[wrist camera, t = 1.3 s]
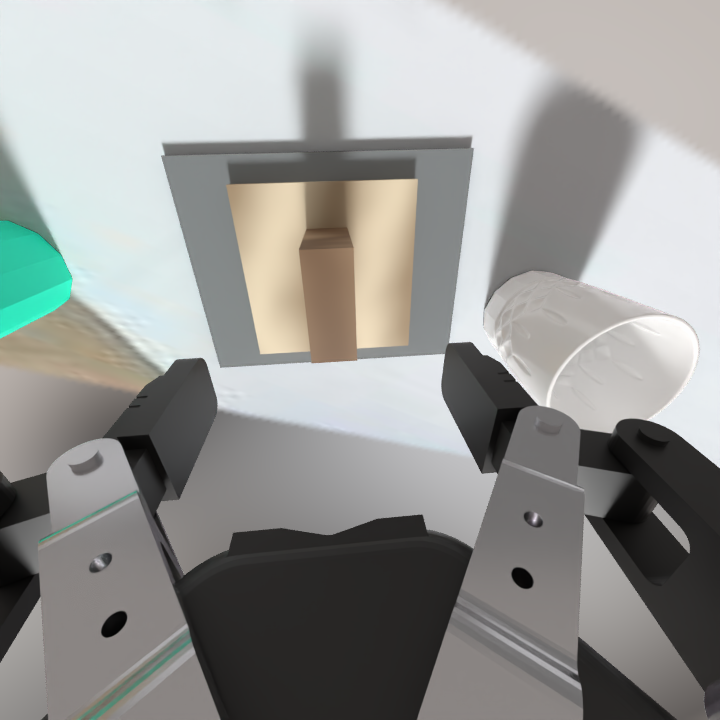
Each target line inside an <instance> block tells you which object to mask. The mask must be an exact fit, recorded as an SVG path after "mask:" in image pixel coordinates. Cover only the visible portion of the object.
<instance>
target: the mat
mask: <svg viewBox="0 0 720 720" xmlns="http://www.w3.org/2000/svg"><path fill="white" fill-rule="evenodd" d="M473 150H474V148H458V149H416V150H374V151H333V152H291V153H249V154H208V155H166V156H161V157H162V160H163V164H164V168H165V171H166V175H167V178H168V182H169V185H170V189H171V193H172V196H173V200H174V203H175V207H176V211H177V214H178V218H179V221H180V225H181V228H182V232H183V236H184V239H185V243H186V246H187V250H188V253H189V257H190V261H191V264H192V268H193V271H194V275H195V279H196V282H197V286H198V289H199V293H200V296H201V300H202V304H203V307H204V311H205V314H206V318H207V321H208V325H209V329H210V332H211V336H212V339H213V343H214V347H215V350H216V354H217V357H218V361H219V364H220V368H222V367H238V366H255V365H271V364H287V363H303V362H311V353H310V351H308V352H291V353H274V354H260V350H259V345H258V340H257V335H256V330H255V325H254V320H253V315H252V310H251V305H250V301H249V296H248V291H247V286H246V281H245V276H244V271H243V266H242V261H241V256H240V251H239V246H238V241H237V236H236V231H235V226H234V221H233V217H232V212H231V207H230V202H229V197H228V192H227V187H226V185H227V184H247V183H282V182H316V181H350V180H384V179H418V187H417V204H416V221H415V239H414V256H413V273H412V291H411V308H410V325H409V343H408V346H391V347H374V348H358V349H357V359H368V358H384V357H400V356H416V355H433V354H445V351H446V347H447V345H448V344H449V338H450V330H451V322H452V314H453V307H454V299H455V291H456V283H457V275H458V267H459V259H460V252H461V244H462V236H463V228H464V220H465V212H466V205H467V197H468V189H469V181H470V173H471V165H472V157H473Z"/></svg>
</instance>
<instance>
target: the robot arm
mask: <svg viewBox="0 0 720 720" xmlns="http://www.w3.org/2000/svg"><path fill="white" fill-rule="evenodd" d="M441 387H442V395H443V398H444V400H445V402H446V404H447V406H448V408H449V410H450V412H451V414H452V416H453V418H454V420H455V422H456V424H457V426H458V428H459V430H460V432H461V434H462V436H463V438H464V440H465V442H466V444H467V446H468V448H469V449H470V451H471V453H472V455H473V457H474V459H475V461H476V463H477V465H478V467H479V469H480V471H481V473H482V474H483V473H494V472H497V474H498V476H497V479H496V482H495V485H494V488H493V491H492V494H491V497H490V501H489V503H488V506H487V509H486V512H485V516H484V519H483V522H482V525H481V528H480V531H479V534H478V537H477V540H476V543H475V546H474V549H473V548H471V547H470V546H468V545H467V544H465V543H463V542H461V541H459V540H458V539H456V538H453V537H451V536H448V535H446V534H443V533H439V532H436V531H432V530H426V526H425V522H424V519H423V515H412V516H402V517H392V518H381V519H376V520H373V521H370V522H367V523H365V524H362V525H359V526H356V527H353V528H351V529H348V530H345V531H342V532H340V533H336V534H333V535H321V534H314V533H308V532H302V531H295V530H288V529H283V528H280V529H269V530H258V531H247V532H237V533H233V536H232V540H231V544H230V548H229V550H227V551H224V552H222V553H220V554H218V555H216V556H213V557H211V558H210V559H208V560H206V561H204V562H203V563H201V564H199V565H198V566H196V567H195V568H194V569H192V570H191V571H190V572H188V573H187V574H186V575H184V573H183V571H182V568H181V566H180V564H179V562H178V559H177V557H176V555H175V552H174V550H173V548H172V545H171V543H170V540H169V538H168V536H167V533H166V531H165V528H164V526H163V524H162V521H161V519H160V517H159V515H158V513H157V511H156V510H157V508H158V506H159V504H160V502H161V501H168V500H179V499H180V496H181V494H182V492H183V489H184V487H185V485H186V483H187V480H188V478H189V475H190V473H191V471H192V469H193V467H194V464H195V462H196V460H197V458H198V455H199V453H200V451H201V448H202V446H203V444H204V442H205V439H206V437H207V435H208V432H209V430H210V428H211V426H212V423H213V421H214V419H215V417H216V413H217V397H216V394H215V391H214V387H213V384H212V381H211V377H210V374H209V371H208V367H207V364H206V362H205V360H204V359H202V358H194V359H178V360H176V361H175V362H174V363H173V364H172V365H171V367H170V368H169V369H168V371H167V372H166V373H165V374H164V376H159V377H158V378H156V379H155V380H153V381H152V382H150V383H149V384H147V385H146V386H145V387H144V388H143V389H142V390H141V392H140V393H139V394H138V395H137V399H134V401H132V403H131V404H130V405H129V408H127V409H126V410H125V411H124V412H123V414H122V415H121V416H120V417H119V419H118V420H117V421H116V422H115V423H114V425H113V426H112V427H111V428H110V430H109V431H108V432H107V433H106V434H105V436H104V437H103V438H102V439H97V440H92V441H89V442H86V443H83V444H81V445H79V446H76V447H74V448H73V449H71V450H69V451H67V452H66V453H64V454H63V455H62V456H60V457H59V458H58V459H57V460H56V461H55V462H54V463H53V464H52V465H51V466H50V468H49V469H48V472H47V473H44V474H40V475H37V476H34V477H30V478H26V479H23V480H20V481H16V482H13V483H10V482H9V481H8V479H7V478H6V477H5V476H4V475H3V473H2V472H0V662H1V661H2V659H3V657H4V656H5V654H6V652H7V651H8V649H9V647H10V646H11V644H12V642H13V641H14V639H15V638H16V636H17V634H18V633H19V631H20V629H21V628H22V626H23V624H24V622H25V621H26V619H27V618H28V616H29V614H30V613H31V611H32V610H33V608H34V606H35V605H36V603H37V601H38V600H39V598H40V597H41V609H42V624H43V625H42V626H43V641H44V658H45V673H46V691H47V706H48V714H47V715H46V716H45V717H44V718H43V719H42V720H677V719H676V718H675V717H673V716H672V715H671V714H670V713H669V712H667V711H666V710H665V709H664V708H662V707H661V706H660V705H659V704H658V703H656V701H654V700H653V699H652V698H651V697H650V696H648V695H647V694H646V693H645V692H643V691H642V690H641V689H640V688H639V687H638V686H636V685H635V684H634V683H633V682H632V681H631V680H629V679H628V678H627V677H626V676H625V675H623V674H622V673H621V672H620V671H618V669H616V668H615V667H614V666H613V665H612V664H610V663H609V662H608V661H607V660H606V659H605V658H603V657H602V656H601V655H600V654H599V653H597V652H596V651H595V650H594V649H593V648H591V647H590V646H589V645H588V644H587V643H586V642H584V641H583V640H582V639H581V638H580V637H578V630H579V608H580V587H581V586H580V585H581V565H582V544H583V524H584V515H585V516H586V517H587V519H588V520H589V522H590V523H591V525H592V526H593V528H594V529H595V531H596V532H597V534H598V535H599V537H600V538H601V540H602V541H603V542H604V544H605V545H606V547H607V548H608V550H609V551H610V553H611V554H612V556H613V557H614V559H615V560H616V562H617V563H618V565H619V566H620V567H621V569H622V571H623V572H624V573H625V575H626V577H627V578H628V579H629V581H630V582H631V584H632V585H633V587H634V588H635V590H636V591H637V593H638V594H639V595H640V597H641V599H642V600H643V602H644V603H645V605H646V606H647V608H648V609H649V610H650V612H651V613H652V615H653V616H654V618H655V619H656V621H657V622H658V624H659V625H660V627H661V628H662V630H663V631H664V632H665V634H666V636H667V637H668V638H669V640H670V641H671V643H672V644H673V646H674V647H675V649H676V650H677V652H678V653H679V655H680V656H681V658H682V659H683V661H684V662H685V663H686V665H687V667H688V668H689V669H690V671H691V672H692V674H693V675H694V677H695V678H696V680H697V681H698V683H699V684H700V686H701V687H702V689H703V690H704V692H705V694H704V706H705V711H706V715H707V718H708V720H720V468H719V467H717V466H716V465H715V464H714V463H712V462H711V461H710V460H709V459H708V458H706V457H705V456H704V455H703V454H701V453H700V452H699V451H698V450H696V449H695V448H694V447H693V446H692V445H690V444H689V443H688V442H687V441H685V440H684V439H683V438H682V437H680V436H679V435H678V434H676V433H675V432H673V431H672V430H670V429H668V428H666V427H664V426H661V425H659V424H656V423H654V422H650V421H647V420H642V419H632V418H629V419H623V420H621V421H619V422H618V423H617V424H616V426H615V428H614V431H613V433H605V432H598V431H591V430H584V429H580V428H579V426H578V424H577V423H576V422H575V421H574V420H573V419H572V418H571V417H569V416H568V415H566V414H564V413H563V412H560V411H558V410H556V409H553V408H549V407H544V406H539V405H538V404H537V403H536V402H535V401H534V400H533V399H532V398H531V396H530V395H529V394H528V393H527V392H526V391H525V390H524V389H523V388H522V386H521V385H520V384H519V383H518V382H516V381H515V379H514V377H513V376H512V375H511V374H509V372H508V371H507V370H506V368H505V367H504V366H503V365H502V364H501V363H500V362H498V361H496V360H495V359H493V358H491V357H489V356H488V355H484V356H483V355H482V354H481V353H480V352H479V350H478V349H477V348H476V347H475V346H474V344H473V343H471V342H463V343H449V344H448V345H447V347H446V351H445V359H444V367H443V375H442V383H441ZM658 503H659V504H660V505H661V506H662V508H663V509H664V510H665V511H666V512H667V513H668V514H669V515H670V516H671V517H672V518H673V520H674V521H675V522H676V523H677V524H678V525H679V526H680V527H681V528H682V530H683V531H684V532H685V534H686V536H687V538H688V540H689V544H690V553H688V552H687V551H686V550H685V549H684V548H683V546H682V545H681V544H680V543H679V542H678V541H677V540H676V538H675V537H674V536H673V535H672V534H671V533H670V532H669V530H668V529H667V528H666V527H665V526H664V525H663V524H662V522H661V521H660V520H659V519H658V518H657V517H656V516H655V514H654V513H653V512H652V511H653V510H654V508H655V507H656V505H657V504H658Z"/></svg>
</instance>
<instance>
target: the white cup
mask: <svg viewBox="0 0 720 720" xmlns="http://www.w3.org/2000/svg"><path fill="white" fill-rule="evenodd" d="M483 328H484V330H485V333H486V335H487V337H488V339H489V341H490V343H491V344H492V345H493V346H494V348H495V349H496V350H497V351H498V353H499V355H500V357H501V358H502V360H503V361H504V362H505V364H506V365H507V366H508V368H509V369H510V370H511V372H512V373H513V375H514V376H515V377H516V379H517V380H518V381H519V382H520V384H521V385H522V386H523V387H524V389H525V390H526V391H527V392H528V394H529V395H530V396H531V397H532V399H533V400H534V401H535V402H536V403H537V404H538V405H539V406H544V407H549V408H553V409H556V410H558V411H560V412H563V413H564V414H566V415H568V416H569V417H571V418H572V419H573V420H574V421H575V422H576V423H577V424H578V426H579V428H580V429H584V430H591V431H598V432H605V433H613V431H614V428H615V426H616V424H617V423H618V422H619V421H621V420H623V419H629V418H632V419H642V420H647V421H648V420H650V419H651V418H653V417H654V416H656V415H657V414H658V413H660V412H661V411H662V410H664V409H665V408H666V407H667V406H668V405H669V404H670V403H672V402H673V401H674V400H675V399H676V397H677V396H678V395H679V394H680V393H681V392H682V390H683V389H684V388H685V386H686V385H687V384H688V382H689V380H690V379H691V377H692V375H693V373H694V371H695V368H696V366H697V363H698V359H699V351H700V347H699V340H698V337H697V334H696V332H695V331H694V329H693V328H692V327H691V326H690V325H689V324H688V323H687V322H686V321H684V320H683V319H681V318H678V317H676V316H673V315H670V314H668V313H665V312H662V311H660V310H657V309H654V308H651V307H649V306H646V305H643V304H641V303H638V302H635V301H633V300H630V299H627V298H625V297H622V296H619V295H617V294H614V293H611V292H609V291H606V290H603V289H600V288H597V287H594V286H590V285H588V284H585V283H583V282H580V281H576V280H572V279H568V278H565V277H562V276H560V275H557V274H555V273H552V272H543V271H533V270H532V271H529V272H526V273H523V274H520V275H518V276H515V277H512V278H510V279H509V280H508V281H507V282H506V283H505V284H503V285H502V286H501V287H500V288H499V289H498V290H496V291H495V292H494V294H493V296H492V298H491V299H490V301H489V303H488V305H487V307H486V308H485V312H484V324H483Z"/></svg>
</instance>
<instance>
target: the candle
mask: <svg viewBox="0 0 720 720" xmlns="http://www.w3.org/2000/svg"><path fill="white" fill-rule="evenodd" d="M71 285H72V277H71V275H70V273H69V271H68V268H67V266H66V264H65V262H64V260H63V258H62V256H61V254H60V253H58V252H57V251H56V250H55V249H54V248H53V247H52V246H51V245H50V244H49V243H48V242H47V241H46V240H44V239H43V238H42V237H41V236H40V235H39V234H38V233H36V232H33V231H31V230H29V229H26V228H24V227H22V226H19V225H17V224H15V223H12V222H10V221H8V220H7V221H0V338H2V337H4V336H6V335H8V334H10V333H12V332H14V331H16V330H18V329H20V328H21V327H23V326H25V325H27V324H29V323H31V322H33V321H35V320H37V319H39V318H41V317H43V316H45V315H47V314H48V313H50V312H52V311H54V310H56V309H57V308H58V307H60V306H61V305H62V304H63V303H65V302H66V301H67V300H69V299H70V292H71Z"/></svg>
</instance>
